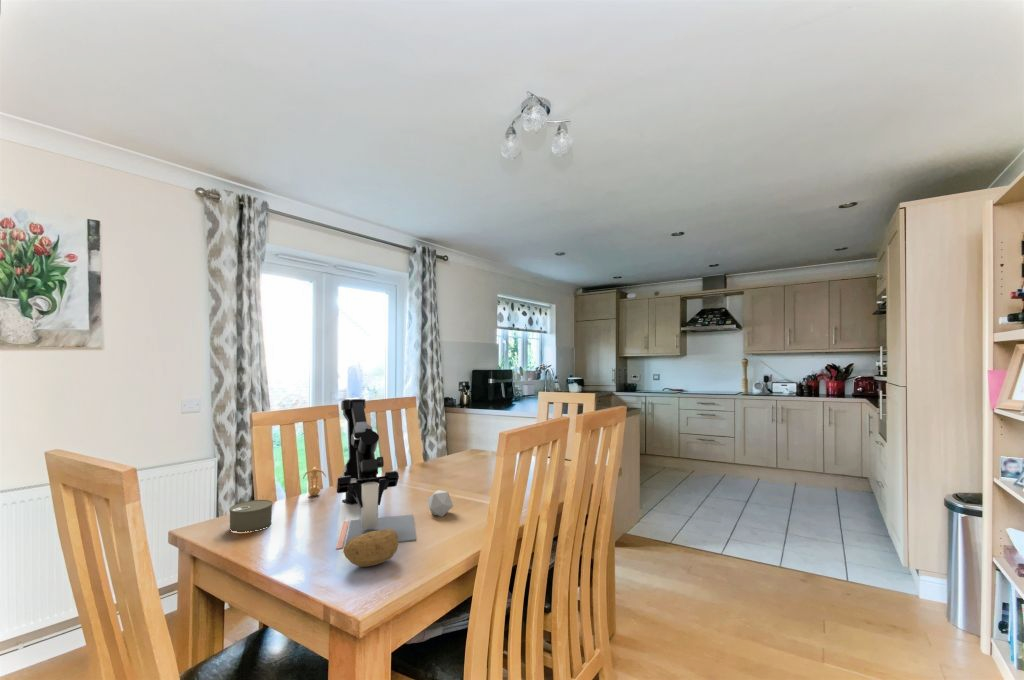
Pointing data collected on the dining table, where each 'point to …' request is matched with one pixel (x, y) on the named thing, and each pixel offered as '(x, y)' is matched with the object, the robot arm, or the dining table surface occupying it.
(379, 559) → the potato
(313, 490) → the figurine
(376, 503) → the cream teardrop shape
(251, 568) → the dining table surface
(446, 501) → the die
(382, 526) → the mat
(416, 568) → the dining table surface
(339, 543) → the strip
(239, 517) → the can
